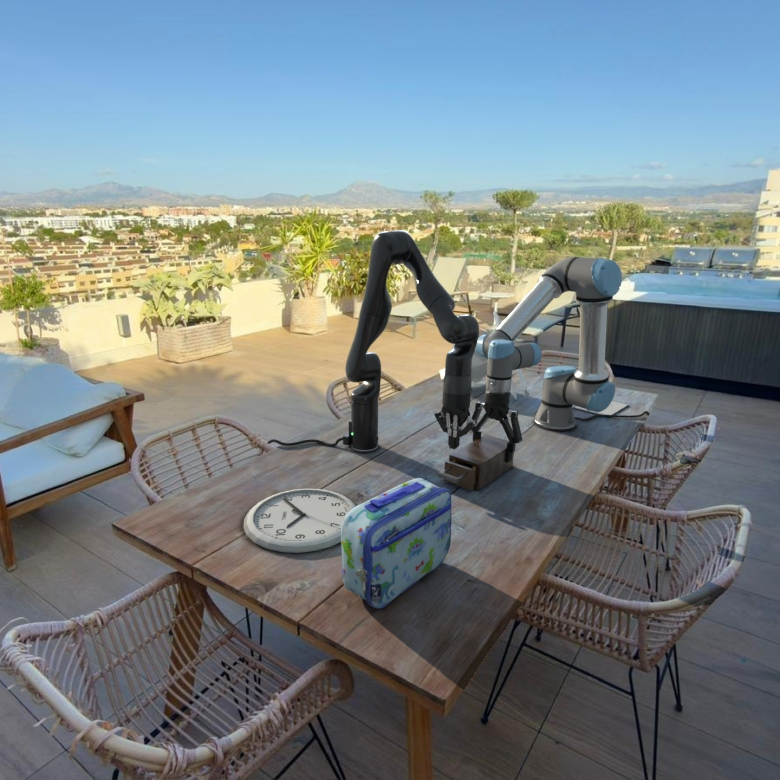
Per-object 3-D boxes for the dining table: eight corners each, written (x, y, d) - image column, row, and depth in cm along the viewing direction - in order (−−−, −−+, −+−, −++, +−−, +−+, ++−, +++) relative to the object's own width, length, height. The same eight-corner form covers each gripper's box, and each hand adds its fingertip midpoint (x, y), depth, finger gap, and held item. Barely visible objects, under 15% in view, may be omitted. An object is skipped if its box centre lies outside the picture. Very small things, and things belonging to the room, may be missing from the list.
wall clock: (362, 544, 122) (232, 548, 120) (362, 550, 123) (232, 555, 120) (359, 484, 151) (253, 486, 148) (359, 489, 151) (253, 492, 149)
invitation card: (608, 416, 214) (573, 407, 224) (608, 416, 214) (573, 408, 224) (628, 404, 229) (594, 396, 238) (628, 405, 229) (594, 397, 238)
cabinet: (478, 490, 152) (480, 464, 150) (447, 479, 159) (449, 454, 156) (512, 466, 168) (515, 442, 166) (483, 456, 175) (485, 434, 172)
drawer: (459, 498, 146) (461, 478, 144) (432, 487, 151) (433, 468, 150) (504, 467, 165) (506, 449, 163) (478, 458, 171) (480, 441, 169)
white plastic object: (461, 429, 252) (437, 405, 227) (444, 352, 274) (420, 323, 250) (535, 404, 240) (518, 377, 215) (510, 326, 262) (492, 293, 237)
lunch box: (370, 622, 101) (370, 527, 94) (335, 595, 108) (333, 505, 102) (455, 565, 118) (460, 481, 112) (420, 544, 125) (423, 465, 119)
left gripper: (429, 387, 143) (426, 445, 148) (470, 397, 135) (466, 458, 140) (444, 381, 148) (441, 438, 154) (485, 391, 140) (480, 450, 146)
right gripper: (459, 385, 165) (455, 449, 172) (527, 401, 151) (520, 470, 158) (471, 380, 171) (467, 443, 177) (538, 395, 157) (531, 462, 163)
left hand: (453, 447), depth 147 cm, fingers closed
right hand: (492, 456), depth 167 cm, fingers closed on cabinet, 11 cm apart
